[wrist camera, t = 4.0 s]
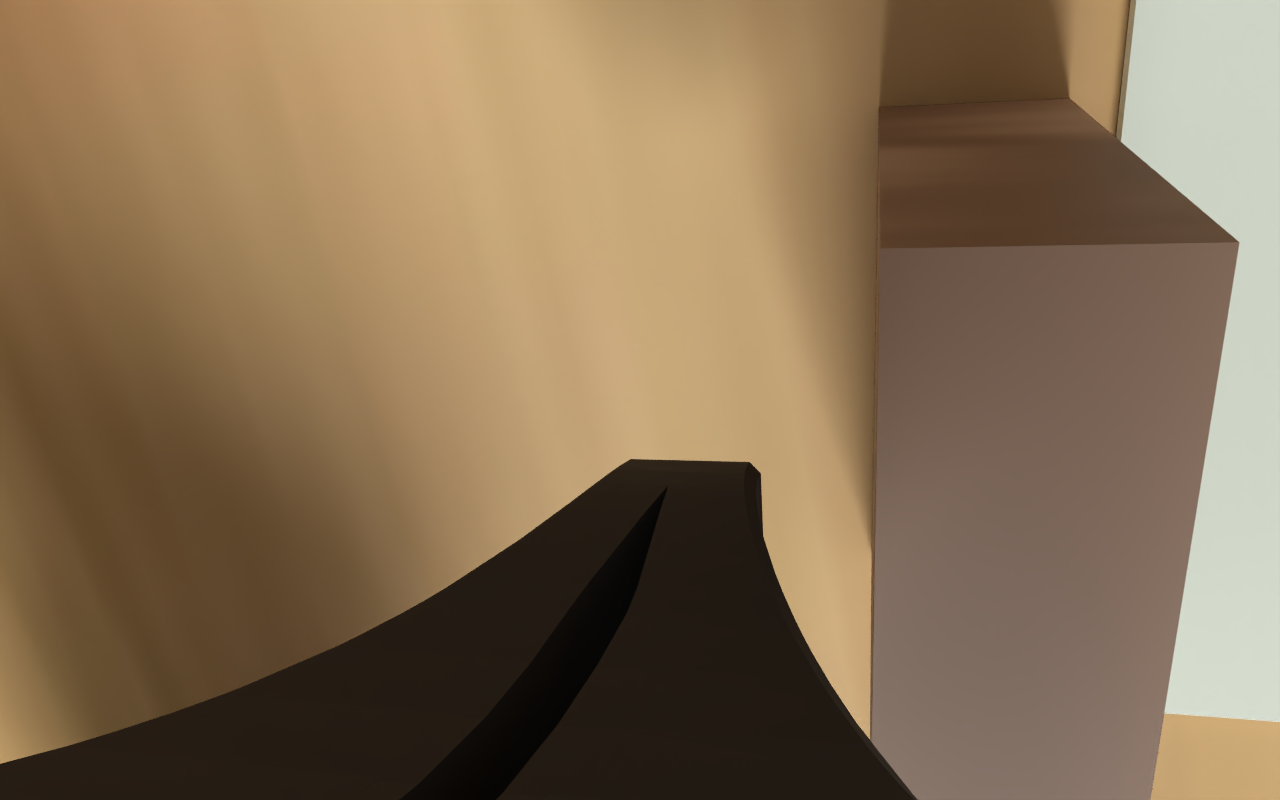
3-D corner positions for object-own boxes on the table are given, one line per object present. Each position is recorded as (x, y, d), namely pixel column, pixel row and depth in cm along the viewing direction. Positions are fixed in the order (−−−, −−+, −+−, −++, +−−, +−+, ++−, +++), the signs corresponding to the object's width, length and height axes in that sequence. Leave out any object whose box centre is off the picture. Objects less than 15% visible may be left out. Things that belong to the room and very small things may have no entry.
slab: (871, 552, 17) (868, 924, 10) (879, 107, 14) (879, 249, 8) (1029, 559, 16) (1124, 955, 10) (1069, 98, 13) (1239, 242, 7)
